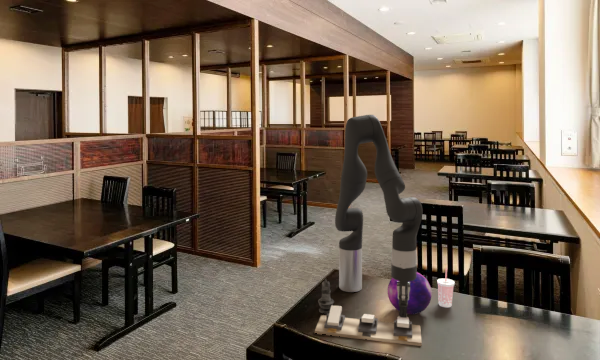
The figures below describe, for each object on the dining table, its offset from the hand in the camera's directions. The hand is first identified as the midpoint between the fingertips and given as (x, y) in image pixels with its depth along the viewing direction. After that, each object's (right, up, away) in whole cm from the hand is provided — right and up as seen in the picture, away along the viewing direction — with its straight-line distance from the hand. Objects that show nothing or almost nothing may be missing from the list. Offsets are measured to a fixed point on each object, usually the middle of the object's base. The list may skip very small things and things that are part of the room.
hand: (403, 316), depth 125 cm
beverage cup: (+22, -4, +24) cm, 32 cm away
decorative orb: (+7, -5, +18) cm, 20 cm away
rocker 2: (-10, -3, +6) cm, 12 cm away
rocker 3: (+1, -4, +4) cm, 5 cm away
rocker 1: (-20, -3, +9) cm, 23 cm away
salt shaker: (-23, -5, +21) cm, 31 cm away
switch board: (-10, -7, +6) cm, 13 cm away
